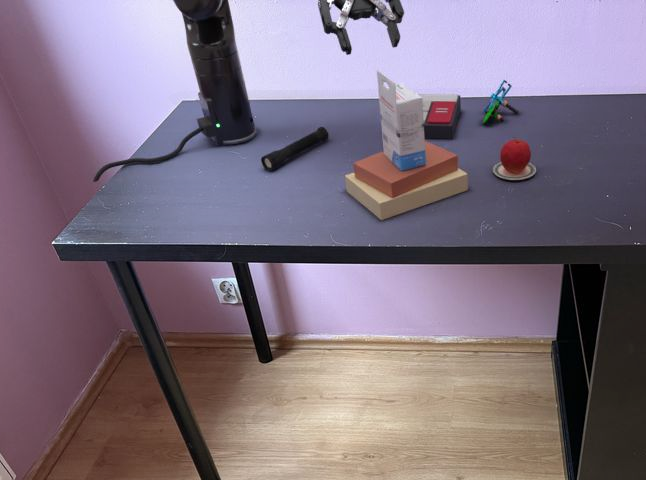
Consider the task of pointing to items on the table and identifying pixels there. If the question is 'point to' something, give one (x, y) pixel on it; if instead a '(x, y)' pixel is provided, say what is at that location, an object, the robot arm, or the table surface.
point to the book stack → (405, 182)
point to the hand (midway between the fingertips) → (373, 48)
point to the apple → (515, 161)
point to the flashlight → (293, 149)
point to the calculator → (440, 115)
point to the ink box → (401, 124)
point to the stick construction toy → (498, 104)
